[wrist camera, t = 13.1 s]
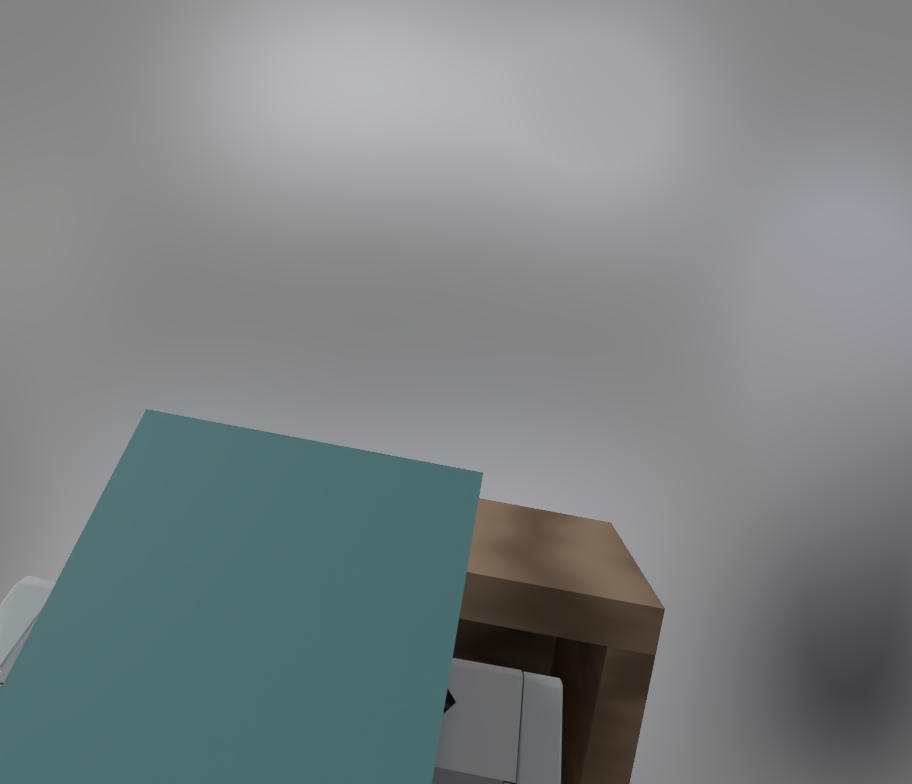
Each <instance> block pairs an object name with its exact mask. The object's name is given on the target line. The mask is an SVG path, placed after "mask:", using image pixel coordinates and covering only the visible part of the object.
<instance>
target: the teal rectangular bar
mask: <svg viewBox="0 0 912 784" xmlns="http://www.w3.org/2000/svg"><path fill="white" fill-rule="evenodd" d="M482 476H483V473H481V472H476V471H470V470H465V469H460V468H455V467H449V466H443V465H439V464H433V463H428V462H423V461H417V460H412V459H407V458H402V457H397V456H391V455H386V454H381V453H375V452H370V451H365V450H359V449H354V448H349V447H343V446H338V445H333V444H328V443H321V442H317V441H312V440H306V439H301V438H296V437H290V436H285V435H280V434H274V433H269V432H264V431H259V430H253V429H248V428H242V427H238V426H232V425H226V424H222V423H216V422H211V421H206V420H200V419H195V418H190V417H184V416H179V415H173V414H169V413H163V412H158V411H153V410H146V411H145V413H144V415H143V417H142V419H141V420H140V422H139V424H138V426H137V428H136V430H135V432H134V434H133V436H132V438H131V440H130V442H129V444H128V445H127V447H126V449H125V452H124V453H123V455H122V457H121V459H120V461H119V463H118V465H117V467H116V468H115V470H114V472H113V474H112V476H111V478H110V480H109V482H108V484H107V486H106V488H105V490H104V491H103V493H102V495H101V497H100V499H99V501H98V503H97V505H96V507H95V509H94V511H93V513H92V515H91V516H90V518H89V520H88V523H87V524H86V526H85V528H84V530H83V532H82V534H81V536H80V538H79V539H78V541H77V543H76V546H75V547H74V549H73V551H72V553H71V555H70V557H69V559H68V561H67V562H66V564H65V567H64V568H63V570H62V572H61V574H60V576H59V578H58V580H57V582H56V584H55V586H54V587H53V589H52V591H51V593H50V595H49V597H48V599H47V601H46V603H45V605H44V607H43V609H42V610H41V612H40V614H39V616H38V618H37V620H36V622H35V624H34V626H33V628H32V630H31V632H30V633H29V635H28V637H27V639H26V641H25V643H24V645H23V647H22V649H21V651H20V653H19V655H18V657H17V658H16V660H15V662H14V664H13V666H12V668H11V670H10V672H9V674H8V676H7V678H6V680H5V681H4V683H3V685H2V687H1V689H0V784H432V779H433V773H434V767H435V761H436V755H437V749H438V743H439V737H440V731H441V725H442V719H443V713H444V706H445V700H446V694H447V688H448V682H449V676H450V670H451V664H452V658H453V652H454V646H455V640H456V634H457V628H458V621H459V615H460V609H461V603H462V597H463V591H464V585H465V579H466V573H467V567H468V561H469V555H470V549H471V543H472V537H473V530H474V524H475V518H476V512H477V506H478V500H479V494H480V488H481V482H482Z"/></svg>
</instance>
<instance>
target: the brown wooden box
mask: <svg viewBox="0 0 912 784" xmlns="http://www.w3.org/2000/svg"><path fill="white" fill-rule="evenodd" d="M664 610H665V608H664V607H663V605H662V604H661V602H660V601H659V599H658V597H657V596H656V594H655V592H654V591H653V590H652V588H651V586H650V585H649V583H648V581H647V580H646V578H645V577H644V575H643V573H642V572H641V570H640V569H639V567H638V565H637V564H636V562H635V561H634V559H633V557H632V556H631V554H630V553H629V551H628V549H627V548H626V546H625V545H624V543H623V541H622V540H621V538H620V537H619V535H618V534H617V532H616V530H615V529H614V527H613V526H612V524H611V523H610V522H604V521H599V520H593V519H588V518H583V517H577V516H572V515H566V514H561V513H556V512H550V511H545V510H539V509H534V508H529V507H523V506H518V505H512V504H507V503H501V502H496V501H491V500H485V499H480V498H479V500H478V506H477V512H476V518H475V524H474V530H473V537H472V543H471V549H470V555H469V561H468V567H467V573H466V579H465V585H464V591H463V597H462V603H461V609H460V615H459V621H458V628H457V634H456V640H455V646H454V652H453V658H456V659H462V660H468V661H473V662H479V663H485V664H490V665H496V666H501V667H507V668H513V669H518V670H522V672H529V673H535V674H540V675H545V676H551V677H556V678H560V680H561V682H562V685H563V701H562V751H561V784H629V783H630V778H631V772H632V768H633V763H634V758H635V753H636V748H637V743H638V738H639V734H640V728H641V724H642V719H643V714H644V709H645V703H646V699H647V694H648V689H649V684H650V679H651V674H652V670H653V664H654V659H655V655H656V650H657V645H658V640H659V635H660V630H661V625H662V620H663V615H664Z"/></svg>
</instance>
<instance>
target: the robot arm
mask: <svg viewBox="0 0 912 784" xmlns="http://www.w3.org/2000/svg"><path fill="white" fill-rule="evenodd" d="M56 582H57V581H53V580H48V579H43V578H38V577H33V576H26V577H25V578H23V579H22V580H21V581H19V582H18V583H17V584H15V586H14V587H13V588H12V590H11V591H10V592H9V594H8V595H7V596H6V598H5V599H4V600H3V602H2V603H1V604H0V689H1V687H2V685H3V683H4V681H5V680H6V678H7V676H8V674H9V672H10V670H11V668H12V666H13V664H14V662H15V660H16V658H17V657H18V655H19V653H20V651H21V649H22V647H23V645H24V643H25V641H26V639H27V637H28V635H29V633H30V632H31V630H32V628H33V626H34V624H35V622H36V620H37V618H38V616H39V614H40V612H41V610H42V609H43V607H44V605H45V603H46V601H47V599H48V597H49V595H50V593H51V591H52V589H53V587H54V586H55V584H56ZM562 701H563V685H562V682H561V680H560V678H556V677H551V676H545V675H540V674H535V673H529V672H522V670H518V669H513V668H507V667H501V666H496V665H490V664H485V663H479V662H473V661H468V660H462V659H456V658H452V664H451V670H450V676H449V682H448V688H447V694H446V700H445V706H444V713H443V719H442V725H441V731H440V737H439V743H438V749H437V755H436V761H435V767H434V773H433V779H432V784H561V751H562Z"/></svg>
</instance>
